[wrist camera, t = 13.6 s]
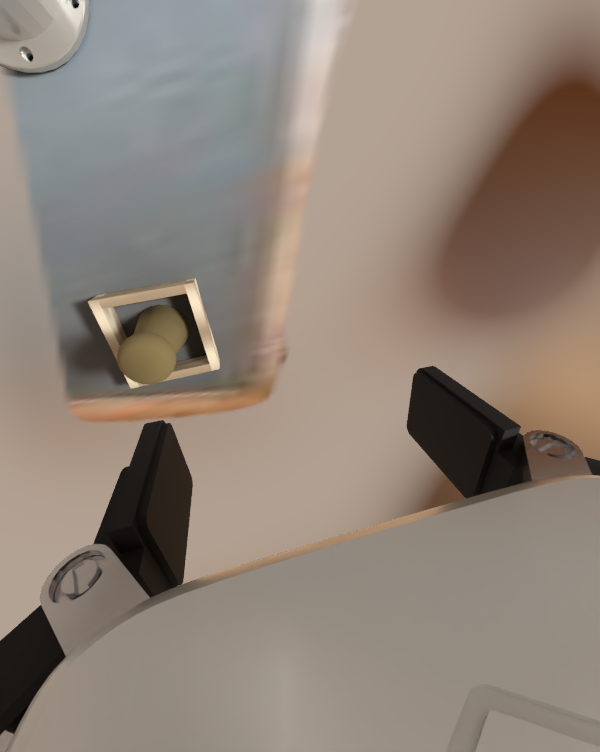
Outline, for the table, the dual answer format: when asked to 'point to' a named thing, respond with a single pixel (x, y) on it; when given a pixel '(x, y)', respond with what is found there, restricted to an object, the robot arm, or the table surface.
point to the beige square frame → (106, 302)
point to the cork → (153, 345)
